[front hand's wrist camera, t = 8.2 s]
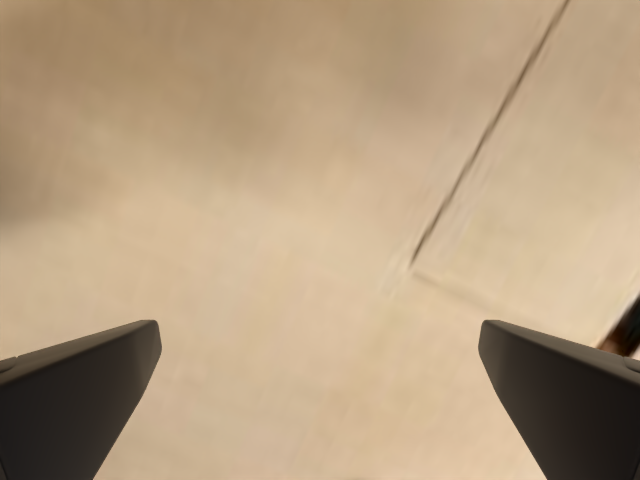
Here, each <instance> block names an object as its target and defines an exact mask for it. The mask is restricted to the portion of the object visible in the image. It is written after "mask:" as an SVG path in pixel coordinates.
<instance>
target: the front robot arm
mask: <svg viewBox="0 0 640 480" xmlns="http://www.w3.org/2000/svg"><path fill="white" fill-rule="evenodd" d="M161 350H162V345H161V338H160V332H159V326H158V323H157V321H155V320H140V321H136V322H133V323H130V324H126V325H123V326H119V327H116V328H113V329H109V330H106V331H102V332H99V333H96V334H92V335H89V336H85V337H82V338H78V339H75V340H72V341H68V342H65V343H61V344H58V345H55V346H51V347H48V348H44V349H41V350H38V351H34V352H31V353H27V354H24V355H20V356H18V357H17V358H16V357H12V358H8V359H5V360H1V361H0V480H93V478H94V477H95V475H96V473H97V472H98V470H99V468H100V467H101V465H102V463H103V462H104V460H105V458H106V457H107V455H108V453H109V452H110V450H111V448H112V446H113V445H114V443H115V441H116V440H117V438H118V436H119V435H120V433H121V431H122V430H123V428H124V426H125V425H126V423H127V421H128V420H129V418H130V416H131V415H132V413H133V411H134V410H135V408H136V406H137V405H138V403H139V401H140V399H141V398H142V396H143V394H144V392H145V390H146V387H147V385H148V383H149V381H150V378H151V376H152V374H153V371H154V369H155V367H156V364H157V362H158V360H159V358H160V355H161ZM478 350H479V355H480V358H481V360H482V362H483V364H484V367H485V369H486V371H487V374H488V376H489V378H490V381H491V383H492V385H493V387H494V390H495V392H496V394H497V396H498V398H499V399H500V401H501V403H502V405H503V406H504V408H505V410H506V411H507V413H508V415H509V416H510V418H511V420H512V421H513V423H514V425H515V426H516V428H517V430H518V431H519V433H520V435H521V436H522V438H523V440H524V441H525V443H526V445H527V446H528V448H529V450H530V452H531V453H532V455H533V457H534V458H535V460H536V462H537V463H538V465H539V467H540V468H541V470H542V472H543V473H544V475H545V477H546V478H547V480H640V361H639V360H635V359H632V358H628V357H624V358H623V357H622V356H620V355H616V354H613V353H609V352H606V351H602V350H599V349H596V348H592V347H589V346H585V345H582V344H579V343H575V342H572V341H568V340H565V339H562V338H558V337H555V336H551V335H548V334H544V333H541V332H538V331H534V330H531V329H527V328H524V327H521V326H517V325H514V324H510V323H507V322H504V321H500V320H485V321H483V323H482V326H481V332H480V338H479V345H478Z"/></svg>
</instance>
